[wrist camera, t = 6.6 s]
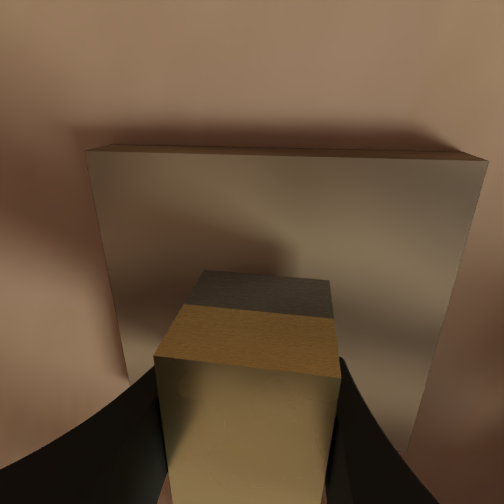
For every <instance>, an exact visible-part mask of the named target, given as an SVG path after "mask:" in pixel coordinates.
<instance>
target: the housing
mask: <svg viewBox="0 0 504 504" xmlns="http://www.w3.org/2000/svg"><path fill="white" fill-rule="evenodd" d="M153 359H154V366H155V374H156V381H157V389H158V396H159V404H160V411H161V419H162V426H163V434H164V441H165V449H166V456H167V464H168V472H169V479H170V487H171V494H172V502H173V504H321V498H322V492H323V486H324V480H325V474H326V468H327V462H328V456H329V450H330V444H331V438H332V432H333V426H334V420H335V414H336V408H337V402H338V396H339V390H340V384H341V370H340V362H339V354H338V346H337V338H336V329H335V321H334V313H333V305H332V297H331V289H330V281H329V280H321V279H309V278H297V277H285V276H273V275H261V274H249V273H237V272H226V271H214V270H204V271H203V272H202V274H201V276H200V278H199V279H198V281H197V283H196V284H195V286H194V288H193V289H192V291H191V293H190V294H189V296H188V298H187V299H186V301H185V303H184V304H183V306H182V308H181V310H180V311H179V313H178V315H177V316H176V318H175V320H174V321H173V323H172V325H171V326H170V328H169V330H168V331H167V333H166V335H165V336H164V338H163V340H162V341H161V343H160V345H159V347H158V348H157V350H156V352H155V353H154V355H153Z"/></svg>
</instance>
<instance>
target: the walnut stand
mask: <svg viewBox="0 0 504 504" xmlns="http://www.w3.org/2000/svg"><path fill="white" fill-rule="evenodd" d="M84 152H85V157H86V162H87V167H88V172H89V178H90V183H91V188H92V193H93V198H94V203H95V208H96V213H97V219H98V224H99V229H100V234H101V239H102V244H103V249H104V254H105V260H106V265H107V270H108V275H109V280H110V285H111V290H112V295H113V301H114V306H115V311H116V316H117V321H118V326H119V331H120V336H121V342H122V347H123V352H124V357H125V362H126V367H127V372H128V377H129V383H130V386H131V385H133V384H134V383H135V382H136V381H137V380H138V379H139V378H141V377H142V376H143V375H144V374H145V373H146V372H147V371H148V370H149V369H150V368H152V367H153V366H154V359H153V355H154V353H155V352H156V350H157V348H158V347H159V345H160V343H161V341H162V340H163V338H164V336H165V335H166V333H167V331H168V330H169V328H170V326H171V325H172V323H173V321H174V320H175V318H176V316H177V315H178V313H179V311H180V310H181V308H182V306H183V304H184V303H185V301H186V299H187V298H188V296H189V294H190V293H191V291H192V289H193V288H194V286H195V284H196V283H197V281H198V279H199V278H200V276H201V274H202V272H203V271H204V270H214V271H226V272H237V273H249V274H261V275H273V276H285V277H297V278H309V279H321V280H329V281H330V289H331V297H332V305H333V313H334V321H335V329H336V338H337V346H338V354H339V357H342V358H343V359H344V360H345V362H346V365H347V367H348V369H349V372H350V374H351V376H352V378H353V380H354V382H355V384H356V386H357V388H358V390H359V392H360V394H361V395H362V397H363V399H364V401H365V402H366V404H367V406H368V408H369V409H370V411H371V413H372V414H373V416H374V418H375V419H376V421H377V423H378V424H379V426H380V427H381V429H382V430H383V432H384V433H385V435H386V436H387V438H388V439H389V441H390V442H391V444H392V445H393V446H394V448H395V449H396V451H399V452H407V448H408V445H409V441H410V438H411V434H412V431H413V427H414V424H415V420H416V417H417V413H418V410H419V406H420V402H421V399H422V395H423V392H424V388H425V385H426V381H427V378H428V374H429V371H430V367H431V364H432V360H433V357H434V353H435V350H436V346H437V343H438V339H439V336H440V332H441V329H442V325H443V321H444V318H445V314H446V311H447V307H448V304H449V300H450V297H451V293H452V290H453V286H454V283H455V279H456V276H457V272H458V269H459V265H460V262H461V258H462V255H463V251H464V248H465V244H466V241H467V237H468V233H469V230H470V226H471V223H472V219H473V216H474V212H475V209H476V205H477V202H478V198H479V195H480V191H481V188H482V184H483V181H484V177H485V174H486V170H487V167H488V163H489V161H487V160H484V159H482V158H479V157H476V156H473V155H470V154H467V153H465V152H440V151H395V150H349V149H303V148H257V147H211V146H165V145H119V144H111V145H107V146H103V147H99V148H95V149H91V150H87V151H84Z"/></svg>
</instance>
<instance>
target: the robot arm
mask: <svg viewBox="0 0 504 504" xmlns="http://www.w3.org/2000/svg"><path fill="white" fill-rule="evenodd" d="M339 362H340V370H341V384H340V390H339V396H338V402H337V408H336V414H335V420H334V426H333V432H332V438H331V444H330V450H329V456H328V462H327V468H326V474H325V487H326V495H327V504H440V503H439V502H438V501H437V500H436V499H435V498H434V497H433V495H432V494H431V493H430V492H429V491H428V490H427V489H426V488H425V486H424V485H423V484H422V483H421V482H420V480H419V479H418V478H417V477H416V475H415V474H414V473H413V472H412V470H411V469H410V468H409V467H408V465H407V464H406V463H405V461H404V460H403V459H402V457H401V456H400V455H399V453H398V452H397V451H396V449H395V448H394V446H393V445H392V444H391V442H390V441H389V439H388V438H387V436H386V435H385V433H384V432H383V430H382V429H381V427H380V426H379V424H378V423H377V421H376V419H375V418H374V416H373V414H372V413H371V411H370V409H369V408H368V406H367V404H366V402H365V401H364V399H363V397H362V395H361V394H360V392H359V390H358V388H357V386H356V384H355V382H354V380H353V378H352V376H351V374H350V372H349V369H348V367H347V365H346V362H345V360H344V359H343V358H342V357H339ZM167 472H168V464H167V456H166V449H165V441H164V434H163V426H162V419H161V411H160V404H159V396H158V389H157V381H156V374H155V366H153V367H152V368H150V369H149V370H148V371H147V372H146V373H145V374H144V375H143V376H142V377H141V378H139V379H138V380H137V381H136V382H135V383H134V384H133V385H131V386H130V387H129V388H128V389H127V390H125V391H124V392H123V393H122V394H121V395H119V396H118V397H117V398H116V399H115V400H113V401H112V402H111V403H109V404H108V405H107V406H106V407H104V408H103V409H101V410H100V411H99V412H97V413H96V414H95V415H93V416H92V417H90V418H89V419H88V420H86V421H85V422H83V423H82V424H80V425H78V426H77V427H75V428H74V429H72V430H70V431H69V432H67V433H66V434H64V435H62V436H61V437H59V438H58V439H56V440H54V441H53V442H51V443H49V444H48V445H46V446H44V447H42V448H41V449H39V450H37V451H35V452H33V453H32V454H30V455H28V456H26V457H24V458H22V459H20V460H18V461H17V462H15V463H13V464H11V465H9V466H7V467H5V468H3V469H0V504H157V501H158V498H159V495H160V491H161V488H162V486H163V483H164V480H165V477H166V475H167Z"/></svg>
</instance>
